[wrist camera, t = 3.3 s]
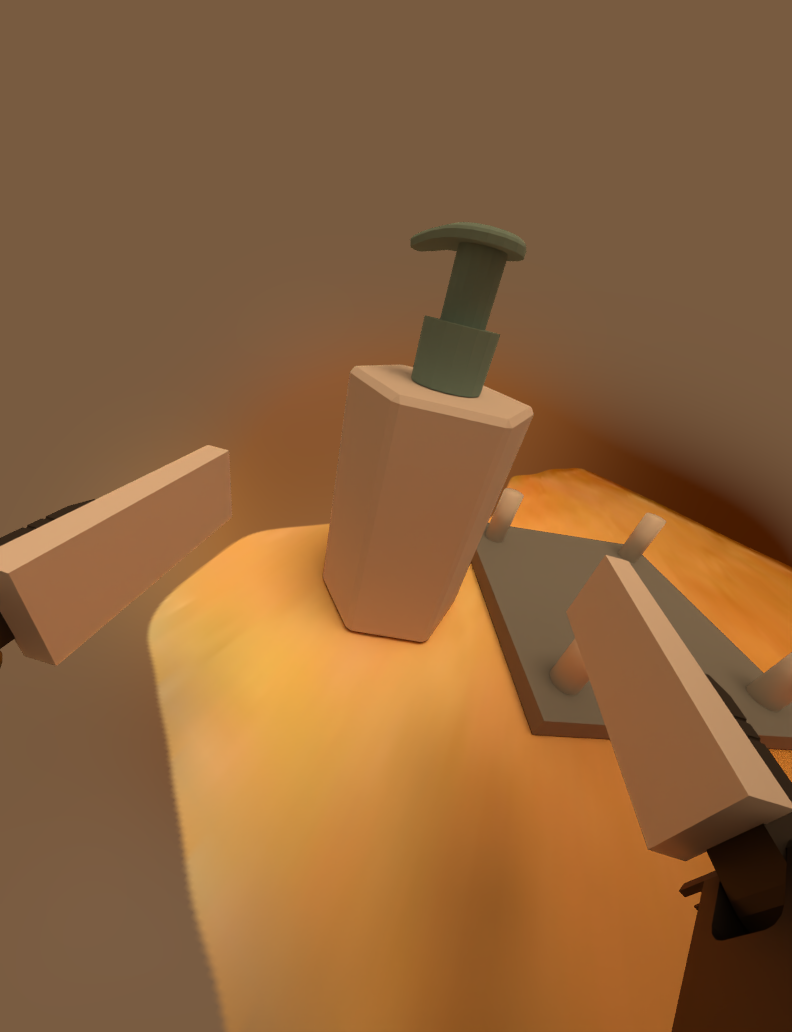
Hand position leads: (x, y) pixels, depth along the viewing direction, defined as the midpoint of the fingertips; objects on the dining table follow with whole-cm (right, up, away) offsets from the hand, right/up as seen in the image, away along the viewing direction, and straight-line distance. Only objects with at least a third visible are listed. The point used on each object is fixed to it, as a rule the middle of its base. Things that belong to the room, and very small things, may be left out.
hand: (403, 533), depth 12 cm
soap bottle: (-1, -5, +15) cm, 16 cm away
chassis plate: (+17, -8, +17) cm, 25 cm away
